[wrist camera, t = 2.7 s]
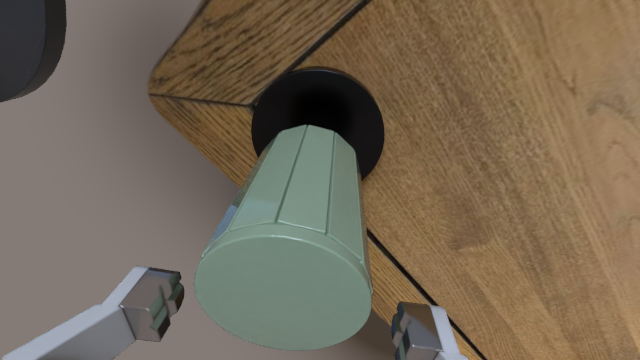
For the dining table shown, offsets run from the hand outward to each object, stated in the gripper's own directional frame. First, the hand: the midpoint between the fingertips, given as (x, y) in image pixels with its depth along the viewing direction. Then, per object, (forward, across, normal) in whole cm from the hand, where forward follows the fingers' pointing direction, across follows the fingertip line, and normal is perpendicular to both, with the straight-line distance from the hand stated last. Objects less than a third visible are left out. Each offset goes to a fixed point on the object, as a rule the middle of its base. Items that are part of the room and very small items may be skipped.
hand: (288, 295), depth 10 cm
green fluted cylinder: (+9, 0, 0) cm, 9 cm away
